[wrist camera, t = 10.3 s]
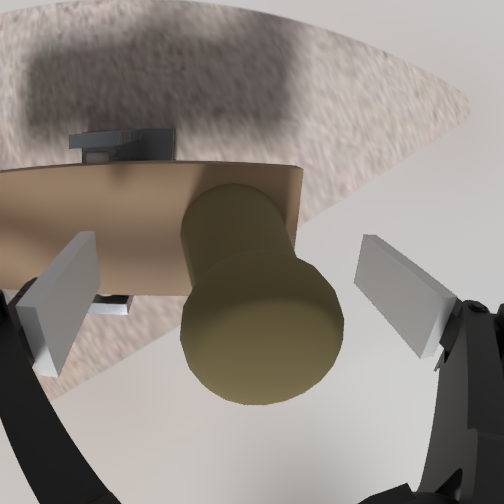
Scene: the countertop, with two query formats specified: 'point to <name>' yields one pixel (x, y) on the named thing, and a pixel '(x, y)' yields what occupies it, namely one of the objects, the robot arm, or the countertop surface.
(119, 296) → the seesaw stand
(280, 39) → the countertop surface
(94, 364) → the countertop surface
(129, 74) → the countertop surface
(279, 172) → the seesaw plank
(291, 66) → the countertop surface
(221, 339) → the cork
